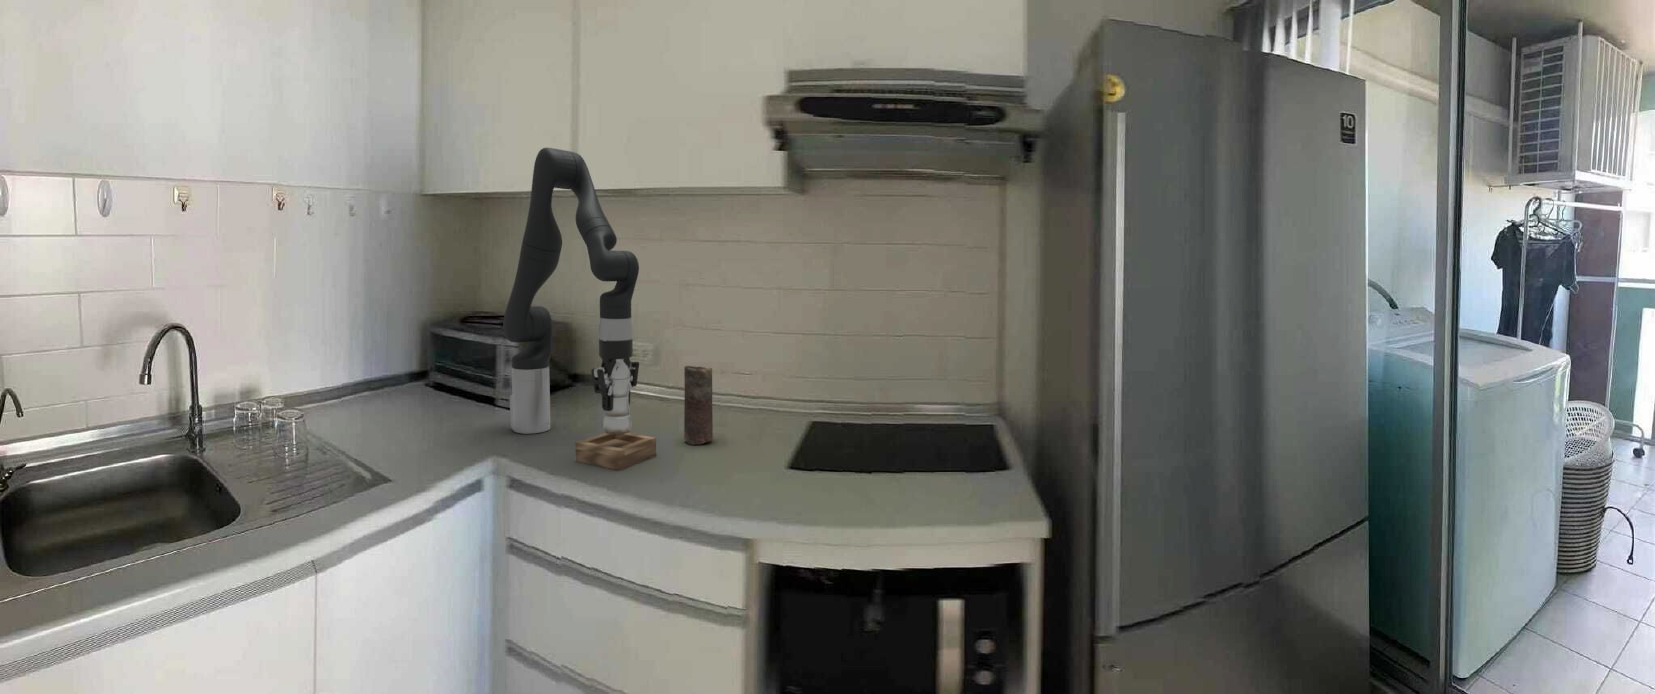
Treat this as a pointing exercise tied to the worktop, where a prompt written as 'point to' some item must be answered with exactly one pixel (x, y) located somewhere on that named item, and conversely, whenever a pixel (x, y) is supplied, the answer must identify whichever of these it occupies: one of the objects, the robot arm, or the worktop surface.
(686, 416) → the candle
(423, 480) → the worktop surface
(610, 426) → the plastic bottle
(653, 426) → the worktop surface
